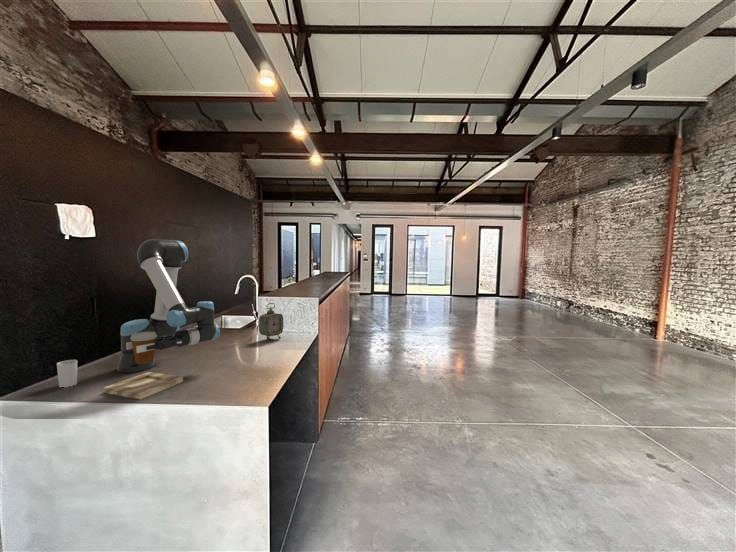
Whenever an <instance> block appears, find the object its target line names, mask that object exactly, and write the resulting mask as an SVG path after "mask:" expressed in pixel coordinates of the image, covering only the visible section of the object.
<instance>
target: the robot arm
mask: <svg viewBox="0 0 736 552" xmlns="http://www.w3.org/2000/svg"><path fill="white" fill-rule="evenodd" d="M188 250H189V249H188V247H187V246H186V244H185V243H184V242H182V241H181V240H175V239H159V238H158V239H157V238H150V239H147V240H145V241H143V242H142V243H141V244H140V245H139V247H138V248H137V252H136V259H137V262H138V265H139V267H140V268H141V269H142V270H144V271H145V272H146V274H147V276H148V277H149V279H150V281H151V283H152V284H153V287H154V288H155V290H156V292H155V293H156V294H155V303H154V312H153V313H151V315H150V318H149V319H147V318H142V319H141V318H140V319H134V320H130V321H127V322H125V323H123V324H121V326H120V333H119V334H120V351H121V353H120V358H119V361H118V364H117V366H116V368H117V369H116V370H117V372H118V373H124V374H127V373H138V372H142V371H146V370H149V369H152V368H154V366H155V360H154V361H152V362H150V363H145V364H136V361H135V356H134V350H133V345H132V341H131V339H130V338H131V335H132V334H135V333H139V332H156V335H157V337H156V342H155V343H150V344H145V345H140V346H136V351H137V353H140V352H145V351H150V350H154V349H155V350H158V351H159V350H160V351H162V350H165V349H168V348H172V347H176V346H177V347H179V348H180V347H186V346H190V345H191V346H194V345H195V344H199V343H204V342H210V341H213V340H217V339H218V338H219V337H220V335H221V330H220V327H219V325H218V324H215V306H214V305H215V304H214V302H213V301H207V300H205V301H198V302H197V303H196V306H192V307H188V306H187V305H186V303H185V301H184V299H183V298H182V296H181V294H180V292H179V291H178V288H177V283H178V275H179V274H178V272H179V270H180V269H182V267H183V263H185V262H187V260H188V259H189V251H188ZM191 324H196V325H197V327H190V328H185V329H181V327H183V326H188V325H191Z"/></svg>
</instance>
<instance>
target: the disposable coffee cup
mask: <svg viewBox="0 0 736 552" xmlns="http://www.w3.org/2000/svg"><path fill="white" fill-rule="evenodd" d="M156 337H157V335H156V332H139V333H135V334H132V335H131V338H130V339H131V341H132V345H133V350H134V356H135V361H136V364H145V363H150V362H152V361H154V362H155V360H154V358H155V351H156V349H154V350H150V351H145V352H140V353H137V351H136V346H140V345H145V344H150V343H155V342H156Z"/></svg>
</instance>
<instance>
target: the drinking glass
mask: <svg viewBox="0 0 736 552" xmlns="http://www.w3.org/2000/svg"><path fill="white" fill-rule="evenodd" d="M56 369H57V370H56V371H57V379H58V387H59V388H61V387H64V388H69V386H70V387H74V386H76V385H78V360H77V359H68V360H67V359H66V360H62V361H59V362H56ZM73 385H74V386H73Z"/></svg>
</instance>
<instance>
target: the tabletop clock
mask: <svg viewBox="0 0 736 552" xmlns="http://www.w3.org/2000/svg"><path fill="white" fill-rule="evenodd" d="M269 305H273V307H272V306H270V308H269V307H268V306H269ZM275 307H276V305H275V303H274V302H269V303H267V305H266V309H267V312H266V313H263V314H261V315H260V316H259V317H258V331H259V334H260V335H261V336H266V340H265V342H266V343H269V340H271V339H270V338H271V337H275V336H277V337H278V339H279V340H280V339H282V338H281V336H280V335H281V334H283V332H284V316H283V313H278V312H276V311H275V310H274V308H275ZM268 339H269V340H268Z"/></svg>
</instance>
